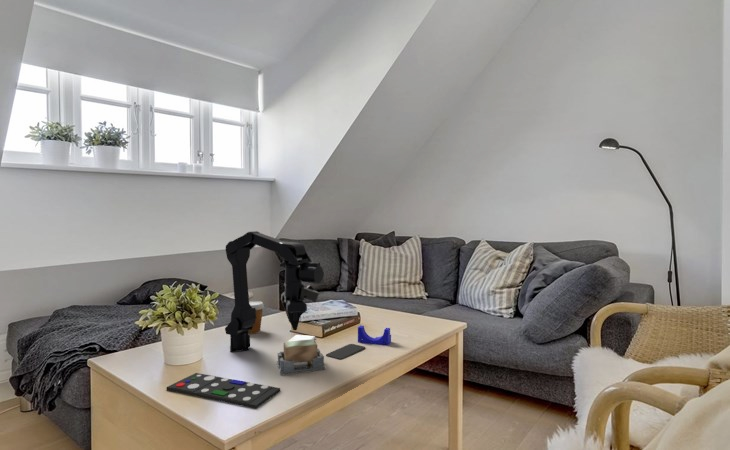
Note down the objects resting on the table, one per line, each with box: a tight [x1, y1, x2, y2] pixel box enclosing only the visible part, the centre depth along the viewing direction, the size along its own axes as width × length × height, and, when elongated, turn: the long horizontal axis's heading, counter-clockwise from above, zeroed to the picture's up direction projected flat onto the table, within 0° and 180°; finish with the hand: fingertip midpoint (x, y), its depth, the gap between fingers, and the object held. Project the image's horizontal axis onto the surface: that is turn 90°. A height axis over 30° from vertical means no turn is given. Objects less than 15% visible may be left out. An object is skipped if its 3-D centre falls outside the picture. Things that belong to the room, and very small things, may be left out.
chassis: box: [276, 348, 326, 376], centre depth 136 cm, size 14×10×4 cm
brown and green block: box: [283, 339, 318, 363], centre depth 136 cm, size 10×6×5 cm, turn 108°
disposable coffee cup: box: [248, 300, 265, 335], centre depth 176 cm, size 10×10×12 cm
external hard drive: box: [283, 334, 316, 348], centre depth 161 cm, size 2×8×12 cm
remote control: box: [166, 372, 281, 410], centre depth 118 cm, size 11×30×2 cm, turn 68°
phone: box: [325, 343, 366, 360], centre depth 151 cm, size 7×1×15 cm
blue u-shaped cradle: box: [357, 324, 392, 346], centre depth 162 cm, size 12×4×6 cm, turn 72°
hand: (292, 326), depth 143 cm, fingers open, 9 cm apart
